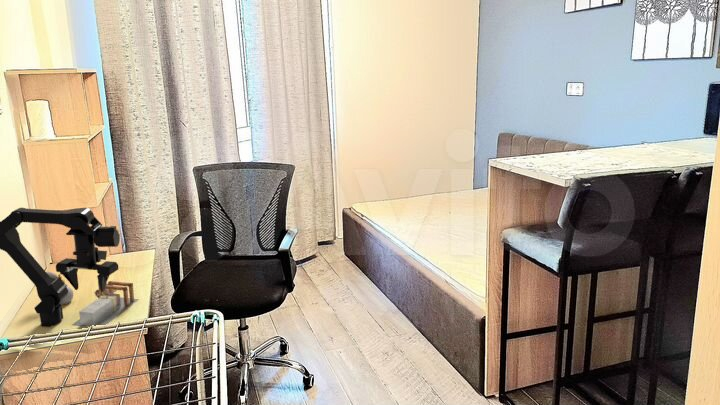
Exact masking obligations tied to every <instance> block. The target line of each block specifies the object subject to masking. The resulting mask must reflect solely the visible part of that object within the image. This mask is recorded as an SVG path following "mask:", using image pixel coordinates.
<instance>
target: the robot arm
mask: <svg viewBox="0 0 720 405" xmlns="http://www.w3.org/2000/svg"><path fill="white" fill-rule="evenodd" d="M23 223H30V224H31V223H32V224H47V225H48V224H50V225H52V224H53V225H61V226H64V228H65V227H66V228H69V230H68V231H67V232H66V233H65V234H66V236H73V241H74V249H75V250H74V251H73V252H72V255H73V256H75V258H69V257H68V258H64V259H61V261H59V262H57V263H56V264H55V271H56V272H57V273H59V274H60V275H62V276H63V277H64V278H65V279H66V281H68V282H69V284H70V285H71V286H72V287H73V288H74V290H75V291H77V290H79V276H78V270H88V271H96V272H97V274H98V275H97V276H96V278H97V283H98V282H99V286H100V290H101V292H103V291H104V290H105V286H106V284H108V279H109V277H110V275H111V276H112V274H114V273H115V272H117V271H119V263H118V262H117V261H110V260H109V261H108V260H107V255H108V254H107V253H108V251H107V250H99V248H117V247H119V245H120V238H121V237H120V233H119V230H118V229H117V225H110V226H103V224H102V223H101V222H100V221H99V219H98V218H97V217H96V216H95V214H94V213H93V211H92V210H91V209H90V208H89V207H77V208H72V209H64V210H59V209H58V210H56V209H42V208H41V209H40V208H39V209H38V208H26V207H19V208H16V209H14V210H13V211H11V212H10V213H9V215H7V216H6V217H5V218H4V219H2V220H1V221H0V250H1V251H4V252H5V253H7V255H8V256H9V257H10V258H11V259H12V261H13V262H14V263H15V264H16V265H17V266H18V267H19V269H20V270H21V271H22V272H23V273H24V275H26V277H27V278H28V279H29V280H30V281H31V282H32V283H33V285H34V286H35V288H36V293H37V296H38V298H39V300H40V302H39V303H38V304H36V305H35V307H34V310H35V313H36V314H39V320H40V325H41V326H40V327H44V328H45V327H46V328H51V327H53V326H57V325H59V324H61V323H62V321H63V319H64V314H63V307H62V305H61V304H60V303H61V302H63V300H64V299H65V297H66V296H67V295H68V289H67V286H68V284H66V282H65V283H63V281H62V280H63V279H61V278H60V277H58V278H57V279H54V278H52V277H50V276H49V275H48V274H47V273H46V272H47V271H45V269H44V268H43V267H42V266H41V264H40V263H39V262H38V261H37V260H36V259H35V257H33V255H32V254H31V253H30V252H29V251H28V249H27V248H26V247H25V245H24V244H23V243H22V242H21V238H20V233H19V232H18V230H17V228H18V227H19V226H20V225H21V224H23ZM90 225H91V226H90ZM102 260H103V261H104V262H103V263H101V264H99V263H100V262H102Z"/></svg>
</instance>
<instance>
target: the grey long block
mask: <svg viewBox="0 0 720 405" xmlns="http://www.w3.org/2000/svg"><path fill="white" fill-rule="evenodd" d="M120 297H121V294H120V293H115V292H114V293H106V294H104V295H103V296H101V297H97V299H95V300H94V301H93V302H91V303H90V304H88V305H86V306H85V307H84V308H82V309H81V310H80V311H79V313H78V315H79V319H80V324H81V325H83V326H82V327H84V326H92V325H94V326H96V325H97V324H99V323H100V322H101V321H103V320H104V319H105V318H107V317H108V316H109V315H111V314H112V313H113V312H115V311H116V310H117V309H119V308H120V307H121V303H120Z"/></svg>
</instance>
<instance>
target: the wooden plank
mask: <svg viewBox="0 0 720 405" xmlns="http://www.w3.org/2000/svg"><path fill="white" fill-rule="evenodd" d="M97 287H98V289H99V296H100V297H101V296H103V292H101V290H100V286H99V282H98V281H97Z"/></svg>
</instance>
